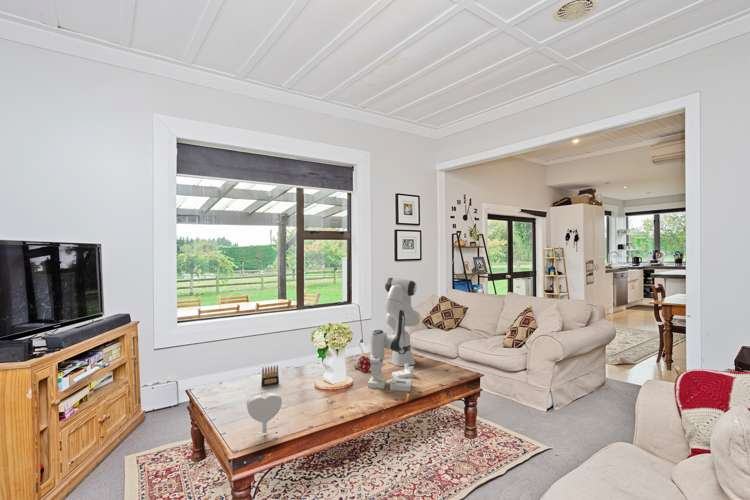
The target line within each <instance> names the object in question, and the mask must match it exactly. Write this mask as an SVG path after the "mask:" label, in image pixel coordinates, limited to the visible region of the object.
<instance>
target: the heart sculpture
mask: <svg viewBox="0 0 750 500" xmlns="http://www.w3.org/2000/svg"><path fill="white" fill-rule="evenodd" d="M282 404H283V401H282V397H281V395H280V394H278V393H275V392H269V393H266V394H265V395H262V394H258V395H257V394H256V395H253V396H252V397H250V398H249V399H247V401H246V409H247V412H248V414H249V416H250V417H251V418H252V419H253V420H255V421H257V422H260V423H261V424H262V426H261V427H262V430H261V432H260V431H257V432H258V434H262V433H268V432H272V431H273V430H270V429H268V427H267V426H268V424H267V423H268V422H270V421H271V420H272V419H273V418H275V416H277V415H278V413H279V411H280V410H281V407H282Z"/></svg>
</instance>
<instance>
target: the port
mask: <svg viewBox="0 0 750 500" xmlns="http://www.w3.org/2000/svg"><path fill="white" fill-rule="evenodd" d="M412 383H413V382H412V378H410V379H409V378H401V379H400V378H394V377H392V379H391V382H390V384H389V390H390V391H399V392H407V393H408V394H410V393H411V390H412V387H413V386H412V385H413V384H412Z"/></svg>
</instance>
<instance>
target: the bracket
mask: <svg viewBox="0 0 750 500" xmlns="http://www.w3.org/2000/svg"><path fill="white" fill-rule="evenodd" d="M414 371H415V369H414V365H410V366H409V365H408V364H405V366H404V369H401V370H398V371H393V372H391V377H392V378H400V379H407V378H410V377H411V379H412V378H414V376H415V375H414V373H415V372H414Z"/></svg>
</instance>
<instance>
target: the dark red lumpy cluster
mask: <svg viewBox="0 0 750 500" xmlns="http://www.w3.org/2000/svg"><path fill="white" fill-rule="evenodd" d="M353 367H354V369H359V370H360V371H361V373H362V372H363V373H367V372H369V370H370V371H371V363H370V357H368V356H365V355H362V356H360V357H359V358H358V360H357V362H355V363H353Z"/></svg>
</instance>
